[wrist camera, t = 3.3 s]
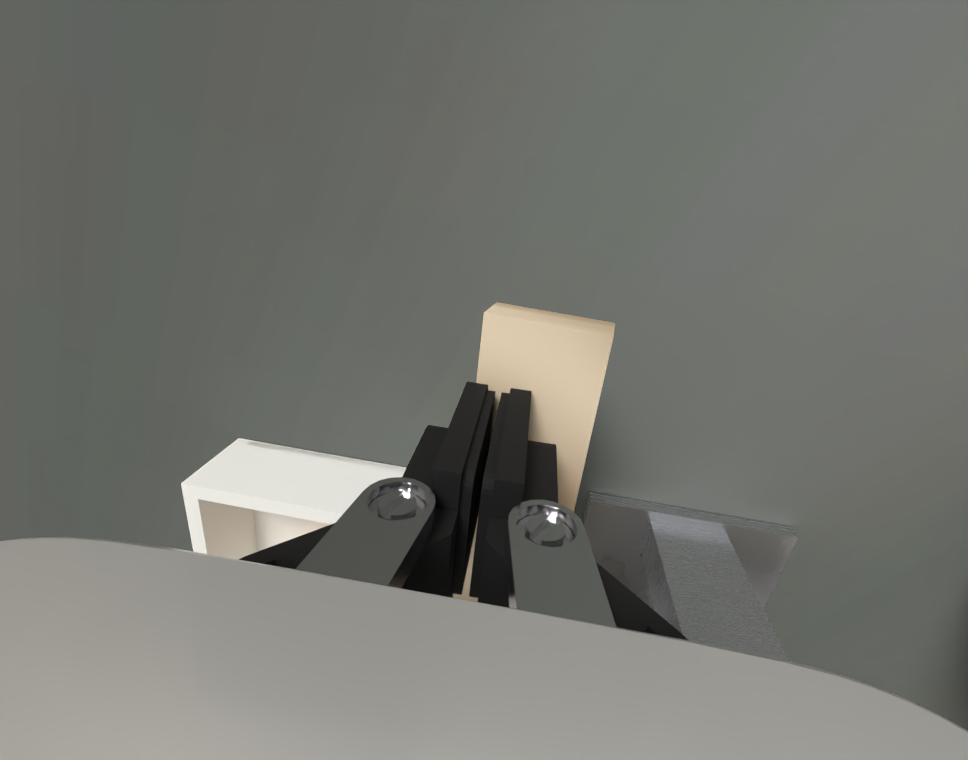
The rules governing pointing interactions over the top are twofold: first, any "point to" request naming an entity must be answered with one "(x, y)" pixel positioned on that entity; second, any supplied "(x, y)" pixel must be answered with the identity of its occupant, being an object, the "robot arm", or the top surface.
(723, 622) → the stand
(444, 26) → the top surface
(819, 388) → the top surface
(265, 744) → the robot arm
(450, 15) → the top surface
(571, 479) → the lever
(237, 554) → the tray
